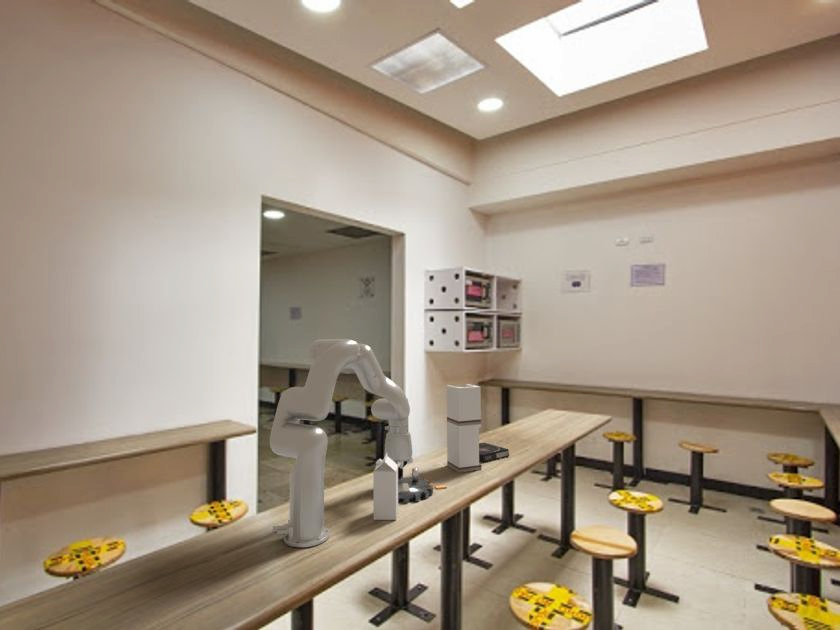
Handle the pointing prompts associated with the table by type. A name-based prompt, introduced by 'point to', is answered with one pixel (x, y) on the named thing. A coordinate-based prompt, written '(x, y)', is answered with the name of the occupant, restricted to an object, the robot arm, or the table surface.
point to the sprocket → (413, 487)
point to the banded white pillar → (463, 427)
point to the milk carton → (385, 489)
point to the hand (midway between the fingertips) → (398, 478)
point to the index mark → (440, 487)
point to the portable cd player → (491, 452)
